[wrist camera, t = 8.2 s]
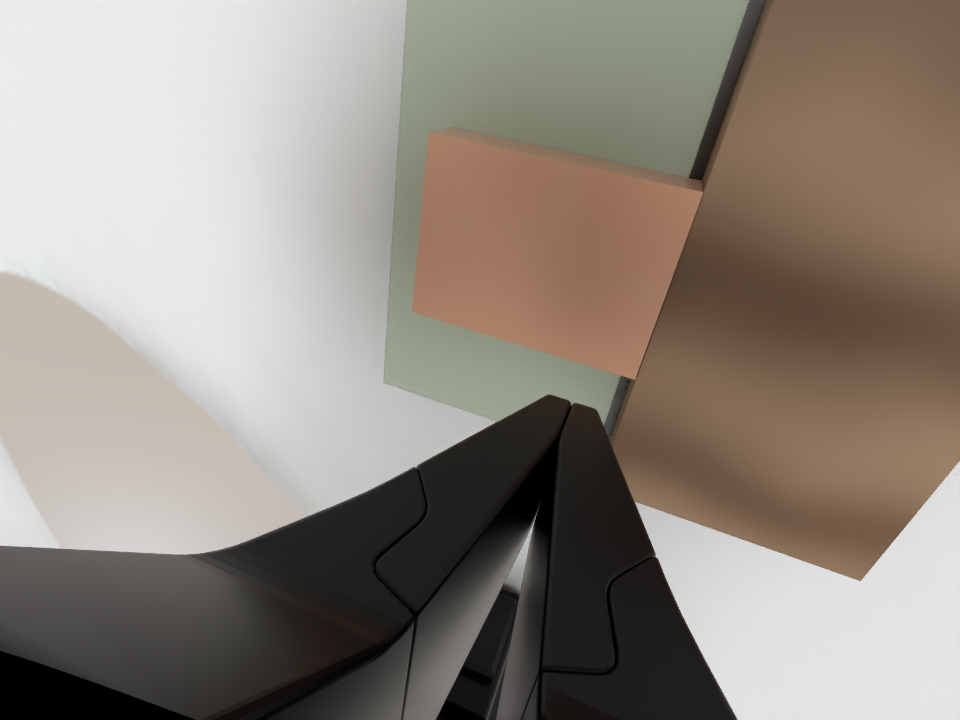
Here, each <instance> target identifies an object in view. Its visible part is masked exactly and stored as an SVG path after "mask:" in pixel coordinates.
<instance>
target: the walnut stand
mask: <svg viewBox="0 0 960 720" xmlns="http://www.w3.org/2000/svg"><path fill="white" fill-rule="evenodd" d="M701 181H702V186H703V195H702V198H701V200H700V203H699V206H698V209H697V211H696V214H695V217H694V220H693V222H692V225H691V228H690V231H689V233H688V236H687V239H686V242H685V244H684V247H683V250H682V252H681V255H680V258H679V261H678V263H677V266H676V269H675V272H674V274H673V277H672V280H671V283H670V285H669V288H668V291H667V294H666V296H665V299H664V302H663V305H662V307H661V310H660V313H659V315H658V318H657V321H656V324H655V326H654V329H653V332H652V335H651V337H650V340H649V343H648V346H647V348H646V351H645V354H644V357H643V359H642V362H641V365H640V368H639V370H638V373H637V376H636V379H635V380H633V379H631V380H630V383H629V385H628V388H627V391H626V394H625V397H624V400H623V402H622V405H621V408H620V411H619V414H618V416H617V419H616V422H615V425H614V428H613V431H612V433H611V436H610V439H609V440H610V443H611V445H612V448H613V450H614V453H615V455H616V458H617V460H618V462H619V465H620V467H621V470H622V472H623V475H624V477H625V480H626V482H627V485H628V487H629V490H630V492H631V494H632V497H633V499H634V501H635V502H638V503H641V504H644V505H647V506H649V507H652V508H655V509H658V510H661V511H664V512H666V513H669V514H672V515H675V516H678V517H681V518H683V519H686V520H689V521H692V522H695V523H698V524H700V525H703V526H706V527H709V528H712V529H715V530H717V531H720V532H723V533H726V534H729V535H732V536H734V537H737V538H740V539H743V540H746V541H749V542H751V543H754V544H757V545H760V546H763V547H766V548H768V549H771V550H774V551H777V552H780V553H783V554H785V555H788V556H791V557H794V558H797V559H799V560H802V561H805V562H808V563H811V564H814V565H816V566H819V567H822V568H825V569H828V570H831V571H833V572H836V573H839V574H842V575H845V576H848V577H850V578H853V579H856V580H859V581H861V580H862V579H863V578H864V576H865V575H866V574H867V573H868V571H869V570H870V569H871V568H872V567H873V565H874V564H875V563H876V562H877V560H878V559H879V558H880V557H881V556H882V554H883V553H884V552H885V551H886V550H887V548H888V547H889V546H890V545H891V543H892V542H893V541H894V540H895V539H896V537H897V536H898V535H899V534H900V533H901V531H902V530H903V529H904V528H905V526H906V525H907V524H908V523H909V522H910V520H911V519H912V518H913V517H914V516H915V514H916V513H917V512H918V511H919V509H920V508H921V507H922V506H923V505H924V503H925V502H926V501H927V500H928V498H929V497H930V496H931V495H932V494H933V492H934V491H935V490H936V489H937V488H938V486H939V485H940V484H941V483H942V481H943V480H944V479H945V478H946V477H947V475H948V474H949V473H950V472H951V471H952V469H953V468H954V467H955V466H956V464H957V463H958V462H959V461H960V0H765V2H764V5H763V8H762V10H761V13H760V16H759V19H758V22H757V24H756V27H755V30H754V33H753V36H752V39H751V41H750V44H749V47H748V50H747V53H746V55H745V58H744V61H743V64H742V67H741V70H740V72H739V75H738V78H737V81H736V84H735V86H734V89H733V92H732V95H731V98H730V101H729V103H728V106H727V109H726V112H725V115H724V118H723V120H722V123H721V126H720V129H719V132H718V134H717V137H716V140H715V143H714V146H713V149H712V151H711V154H710V157H709V160H708V163H707V165H706V168H705V171H704V174H703V177H702V180H701Z"/></svg>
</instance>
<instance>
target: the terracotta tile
mask: <svg viewBox="0 0 960 720" xmlns="http://www.w3.org/2000/svg"><path fill="white" fill-rule="evenodd" d="M702 195H703V186H702V181H701V180H696V179H691V178H687V177H682V176H677V175H673V174H668V173H664V172H659V171H654V170H650V169H645V168H640V167H636V166H631V165H626V164H622V163H617V162H612V161H608V160H603V159H598V158H594V157H589V156H585V155H580V154H575V153H571V152H566V151H561V150H557V149H552V148H547V147H543V146H538V145H533V144H529V143H524V142H519V141H515V140H510V139H506V138H501V137H496V136H492V135H487V134H482V133H478V132H473V131H468V130H464V129H459V128H454V127H453V128H448V129H442V130H437V131H431V132H429V134H428V144H427V155H426V166H425V177H424V188H423V198H422V209H421V220H420V231H419V241H418V252H417V263H416V274H415V284H414V295H413V306H412V312H414V313H417V314H420V315H423V316H427V317H430V318H433V319H437V320H440V321H443V322H446V323H450V324H453V325H456V326H459V327H463V328H466V329H469V330H473V331H476V332H479V333H482V334H486V335H489V336H492V337H496V338H499V339H502V340H505V341H509V342H512V343H515V344H518V345H522V346H525V347H528V348H532V349H535V350H538V351H541V352H545V353H548V354H551V355H555V356H558V357H561V358H564V359H568V360H571V361H574V362H577V363H581V364H584V365H587V366H591V367H594V368H597V369H600V370H604V371H607V372H610V373H613V374H617V375H620V376H623V377H627V378H630V379H633V380H635V379H636V376H637V373H638V370H639V368H640V365H641V362H642V359H643V357H644V354H645V351H646V348H647V346H648V343H649V340H650V337H651V335H652V332H653V329H654V326H655V324H656V321H657V318H658V315H659V313H660V310H661V307H662V305H663V302H664V299H665V296H666V294H667V291H668V288H669V285H670V283H671V280H672V277H673V274H674V272H675V269H676V266H677V263H678V261H679V258H680V255H681V252H682V250H683V247H684V244H685V242H686V239H687V236H688V233H689V231H690V228H691V225H692V222H693V220H694V217H695V214H696V211H697V209H698V206H699V203H700V200H701V198H702Z"/></svg>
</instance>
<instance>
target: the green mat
mask: <svg viewBox="0 0 960 720" xmlns="http://www.w3.org/2000/svg"><path fill="white" fill-rule="evenodd" d="M748 3H749V0H407V15H406V31H405V46H404V62H403V78H402V94H401V110H400V126H399V142H398V158H397V174H396V190H395V206H394V222H393V238H392V254H391V270H390V286H389V302H388V318H387V334H386V350H385V366H384V382H383V383H386V384H389V385H391V386H394V387H397V388H400V389H403V390H406V391H409V392H412V393H415V394H418V395H421V396H424V397H427V398H430V399H433V400H436V401H439V402H442V403H445V404H447V405H450V406H453V407H456V408H459V409H462V410H465V411H468V412H471V413H474V414H477V415H480V416H483V417H486V418H489V419H492V420H495V421H500V420H502V419H503V418H505V417H507V416H509V415H511V414H513V413H514V412H516V411H518V410H520V409H522V408H524V407H525V406H527V405H529V404H531V403H533V402H535V401H536V400H538V399H540V398H542V397H544V396H546V395H548V394H551V395H554V396H557V397H560V398H564V399H567V400H569V401H570V402H571V405H572V404H573V403H579V404H582V405H586V406H589V407H592V408H595V409H596V410H597V411H598V413H599V416H600V418H601V421H602V423H603V425H604V424H605V422H606V419H607V416H608V413H609V410H610V407H611V404H612V401H613V398H614V395H615V392H616V389H617V386H618V384H619V381H620V378H621V376H620V375H617V374H613V373H610V372H607V371H604V370H600V369H597V368H594V367H591V366H587V365H584V364H581V363H577V362H574V361H571V360H568V359H564V358H561V357H558V356H555V355H551V354H548V353H545V352H541V351H538V350H535V349H532V348H528V347H525V346H522V345H518V344H515V343H512V342H509V341H505V340H502V339H499V338H496V337H492V336H489V335H486V334H482V333H479V332H476V331H473V330H469V329H466V328H463V327H459V326H456V325H453V324H450V323H446V322H443V321H440V320H437V319H433V318H430V317H427V316H423V315H420V314H417V313H414V312H412V306H413V295H414V284H415V274H416V263H417V252H418V241H419V231H420V220H421V209H422V198H423V188H424V177H425V166H426V155H427V144H428V134H429V132H431V131H437V130H442V129H448V128H453V127H454V128H459V129H464V130H468V131H473V132H478V133H482V134H487V135H492V136H496V137H501V138H506V139H510V140H515V141H519V142H524V143H529V144H533V145H538V146H543V147H547V148H552V149H557V150H561V151H566V152H571V153H575V154H580V155H585V156H589V157H594V158H598V159H603V160H608V161H612V162H617V163H622V164H626V165H631V166H636V167H640V168H645V169H650V170H654V171H659V172H664V173H668V174H673V175H677V176H682V177H687V178H689V176H690V173H691V170H692V167H693V164H694V161H695V158H696V155H697V153H698V150H699V147H700V144H701V141H702V138H703V135H704V132H705V129H706V126H707V123H708V120H709V117H710V115H711V112H712V109H713V106H714V103H715V100H716V97H717V94H718V91H719V88H720V85H721V82H722V79H723V76H724V74H725V71H726V68H727V65H728V62H729V59H730V56H731V53H732V50H733V47H734V44H735V41H736V38H737V36H738V33H739V30H740V27H741V24H742V21H743V18H744V15H745V12H746V9H747V6H748Z"/></svg>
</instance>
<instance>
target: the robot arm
mask: <svg viewBox="0 0 960 720" xmlns="http://www.w3.org/2000/svg"><path fill="white" fill-rule="evenodd" d="M537 511H538V512H537ZM536 514H537V515H536ZM535 517H536V519H535ZM534 519H535V522H534ZM533 522H534V525H533ZM532 525H533V530H532V534H531V539H530V544H529V549H528V554H527V559H526V565H525V570H524V575H523V580H522V586H521V591H520V596H519V597H517V596H514V595H512V594H509V593H507V592H505V591H502V590H501V588H502V586H503V584H504V582H505V580H506V578H507V576H508V574H509V572H510V570H511V568H512V566H513V564H514V562H515V560H516V558H517V556H518V554H519V552H520V550H521V548H522V546H523V544H524V542H525V540H526V538H527V536H528V534H529V531H530V529H531V527H532ZM655 556H656V554H655V551H654V549H653V546H652V544H651V541H650V539H649V536H648V534H647V531H646V529H645V526H644V524H643V522H642V519H641V517H640V514H639V512H638V509H637V507H636V504H635V502H634V499H633V497H632V494H631V492H630V490H629V487H628V485H627V482H626V480H625V477H624V475H623V472H622V470H621V467H620V465H619V462H618V460H617V458H616V455H615V453H614V450H613V448H612V445H611V443H610V440H609V438H608V435H607V433H606V430H605V428H604V425H603V423H602V421H601V418H600V416H599V413H598V411H597V410H596V409H595V408H592V407H589V406H586V405H582V404H579V403H573V404H572V405H571V402H570V401H569V400H567V399H564V398H560V397H557V396H554V395H551V394H548V395H546V396H544V397H542V398H540V399H538V400H536V401H535V402H533V403H531V404H529V405H527V406H525V407H524V408H522V409H520V410H518V411H516V412H514V413H513V414H511V415H509V416H507V417H505V418H503V419H502V420H500V421H498V422H496V423H494V424H492V425H491V426H489V427H487V428H485V429H483V430H481V431H480V432H478V433H476V434H474V435H472V436H470V437H469V438H467V439H465V440H463V441H461V442H459V443H458V444H456V445H454V446H452V447H450V448H448V449H447V450H445V451H443V452H441V453H439V454H437V455H435V456H434V457H432V458H430V459H428V460H426V461H424V462H423V463H421V464H419V465H418V466H417V468H415V467H413V468H411V469H409V470H408V471H406V472H404V473H402V474H400V475H398V476H397V477H395V478H393V479H391V480H389V481H387V482H385V483H383V484H381V485H379V486H377V487H375V488H373V489H371V490H369V491H367V492H364V493H362V494H360V495H358V496H355V497H353V498H351V499H348V500H346V501H344V502H342V503H339V504H337V505H335V506H332V507H330V508H327V509H325V510H322V511H320V512H317V513H315V514H313V515H310V516H308V517H305V518H303V519H300V520H298V521H296V522H293V523H290V524H288V525H286V526H283V527H281V528H278V529H276V530H274V531H271V532H268V533H266V534H263V535H261V536H259V537H256V538H254V539H251V540H249V541H246V542H243V543H240V544H238V545H235V546H232V547H228V548H225V549H221V550H217V551H212V552H207V553H201V554H188V555H173V554H153V553H134V552H114V551H93V550H74V549H54V548H33V547H13V546H0V720H737V718H736V716H735V714H734V712H733V710H732V709H731V707H730V705H729V703H728V701H727V699H726V697H725V696H724V694H723V692H722V690H721V688H720V686H719V685H718V683H717V681H716V679H715V677H714V675H713V674H712V672H711V670H710V668H709V666H708V664H707V663H706V661H705V659H704V657H703V655H702V653H701V651H700V649H699V647H698V645H697V643H696V642H695V640H694V638H693V636H692V634H691V632H690V630H689V628H688V626H687V624H686V622H685V620H684V618H683V616H682V614H681V612H680V610H679V607H678V605H677V603H676V601H675V598H674V596H673V594H672V592H671V589H670V587H669V585H668V583H667V580H666V578H665V575H664V573H663V570H662V568H661V565H660V563H659V560H658V559H657V558H656V557H655Z"/></svg>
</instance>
